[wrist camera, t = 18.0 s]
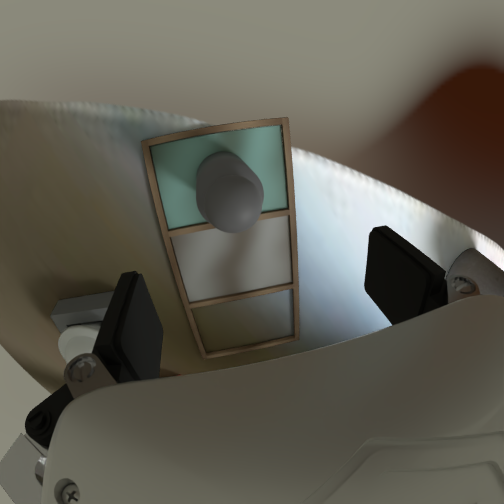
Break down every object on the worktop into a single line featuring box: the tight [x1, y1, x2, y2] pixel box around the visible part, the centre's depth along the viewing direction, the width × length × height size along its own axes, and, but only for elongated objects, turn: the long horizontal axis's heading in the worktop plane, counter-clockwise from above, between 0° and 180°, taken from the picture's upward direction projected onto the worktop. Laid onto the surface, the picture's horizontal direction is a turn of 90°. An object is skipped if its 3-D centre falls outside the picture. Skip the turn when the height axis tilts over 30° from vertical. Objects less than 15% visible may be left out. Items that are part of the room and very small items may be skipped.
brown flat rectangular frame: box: [141, 117, 299, 359], centre depth 29 cm, size 13×28×1 cm, turn 7°
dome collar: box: [50, 291, 114, 333], centre depth 29 cm, size 9×9×3 cm
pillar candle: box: [446, 248, 504, 297], centre depth 32 cm, size 10×10×15 cm
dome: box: [58, 321, 102, 364], centre depth 26 cm, size 8×8×7 cm
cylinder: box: [196, 152, 264, 233], centre depth 21 cm, size 5×5×10 cm
